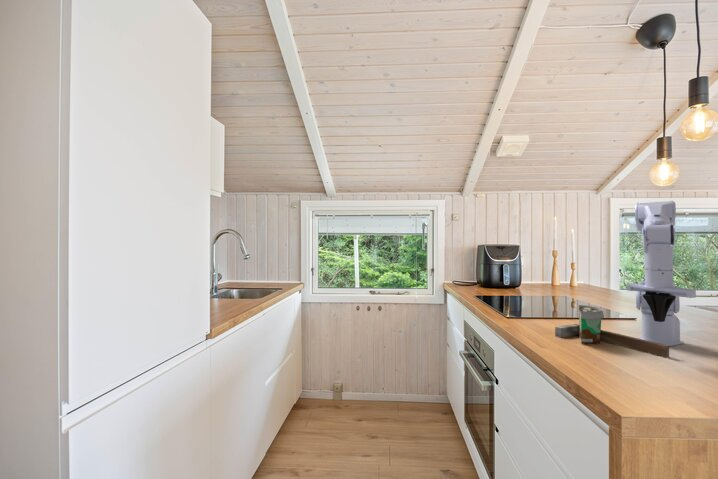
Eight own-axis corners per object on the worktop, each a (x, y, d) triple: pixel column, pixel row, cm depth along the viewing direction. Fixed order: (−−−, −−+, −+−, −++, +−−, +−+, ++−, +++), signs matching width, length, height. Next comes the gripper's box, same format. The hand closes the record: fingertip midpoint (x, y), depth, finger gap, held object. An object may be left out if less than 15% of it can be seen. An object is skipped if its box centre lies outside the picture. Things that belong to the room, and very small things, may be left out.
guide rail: (575, 332, 115) (575, 323, 115) (669, 356, 91) (669, 345, 91) (555, 336, 112) (555, 326, 112) (646, 361, 87) (646, 350, 87)
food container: (607, 348, 99) (606, 313, 99) (581, 345, 102) (581, 311, 102) (602, 337, 109) (601, 306, 109) (579, 335, 112) (578, 304, 112)
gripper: (619, 268, 96) (620, 317, 96) (683, 272, 83) (684, 329, 83) (635, 267, 99) (636, 314, 99) (700, 271, 85) (701, 326, 85)
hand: (659, 321), depth 91 cm, fingers closed
